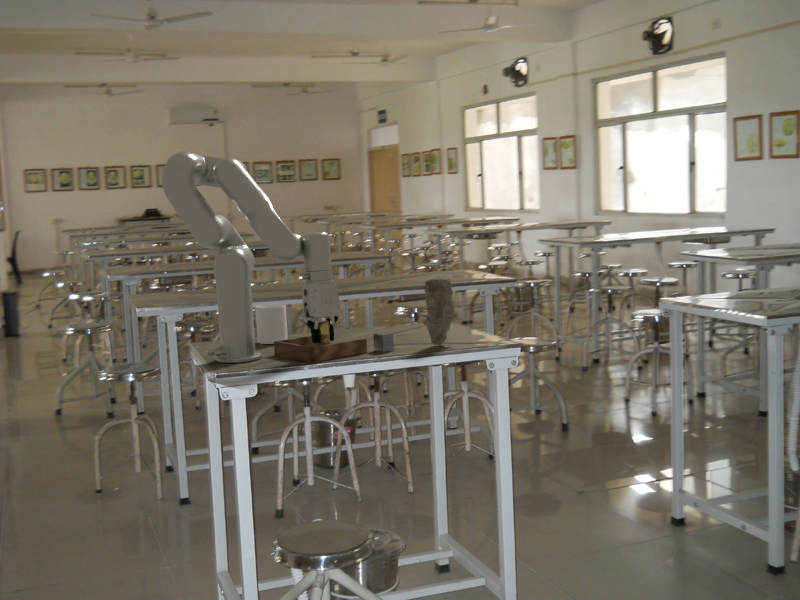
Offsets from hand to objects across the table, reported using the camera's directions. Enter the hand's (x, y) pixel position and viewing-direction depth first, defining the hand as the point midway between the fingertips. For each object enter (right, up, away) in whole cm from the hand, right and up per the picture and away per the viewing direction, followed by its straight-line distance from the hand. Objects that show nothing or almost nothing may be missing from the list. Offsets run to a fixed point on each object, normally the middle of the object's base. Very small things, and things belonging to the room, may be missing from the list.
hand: (323, 340), depth 229 cm
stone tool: (+34, -2, +10) cm, 35 cm away
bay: (-1, -4, +4) cm, 5 cm away
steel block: (+17, -3, +5) cm, 18 cm away
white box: (-19, -2, +29) cm, 35 cm away
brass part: (0, -1, 0) cm, 0 cm away
